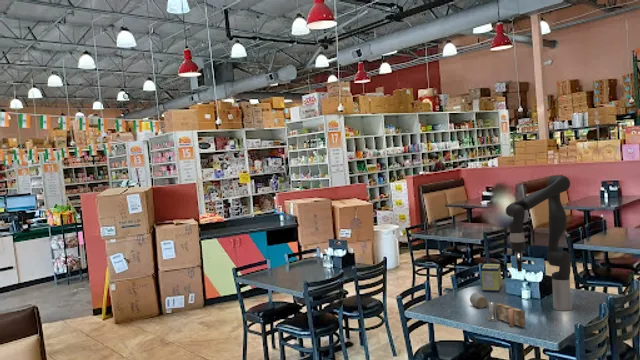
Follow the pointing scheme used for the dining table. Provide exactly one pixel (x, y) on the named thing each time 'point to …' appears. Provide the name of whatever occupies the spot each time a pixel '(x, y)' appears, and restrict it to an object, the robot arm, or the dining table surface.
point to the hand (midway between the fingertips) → (519, 271)
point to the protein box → (491, 278)
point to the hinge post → (492, 312)
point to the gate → (503, 315)
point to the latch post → (511, 318)
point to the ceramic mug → (478, 300)
